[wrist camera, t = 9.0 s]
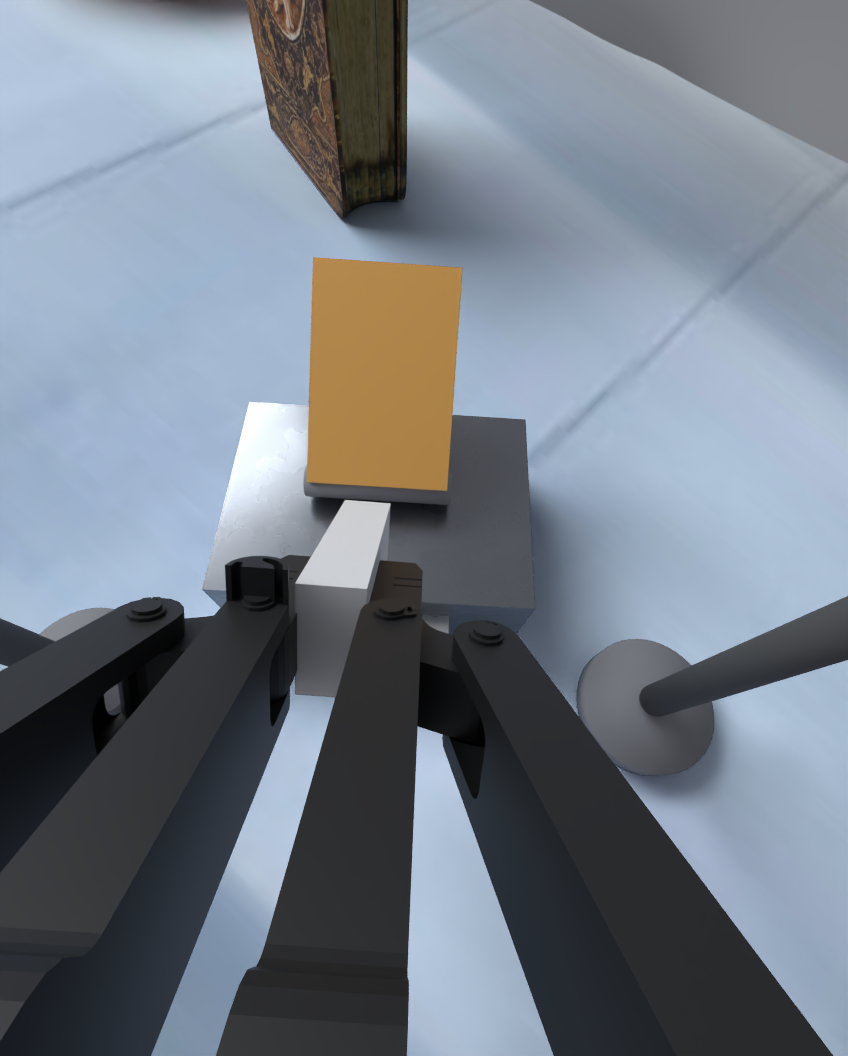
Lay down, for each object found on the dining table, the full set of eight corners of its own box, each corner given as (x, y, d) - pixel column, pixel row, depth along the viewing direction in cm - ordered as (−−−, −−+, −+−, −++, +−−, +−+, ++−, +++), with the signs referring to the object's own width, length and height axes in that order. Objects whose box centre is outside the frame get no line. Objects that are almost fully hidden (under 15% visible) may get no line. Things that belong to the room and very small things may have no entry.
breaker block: (512, 654, 26) (535, 627, 21) (232, 638, 26) (197, 607, 21) (507, 472, 31) (525, 419, 26) (271, 458, 30) (249, 401, 26)
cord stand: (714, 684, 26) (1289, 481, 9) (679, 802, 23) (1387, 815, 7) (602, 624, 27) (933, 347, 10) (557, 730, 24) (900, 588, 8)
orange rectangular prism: (450, 507, 22) (467, 268, 21) (301, 498, 22) (308, 257, 21) (447, 502, 24) (463, 284, 23) (311, 494, 24) (318, 274, 23)
